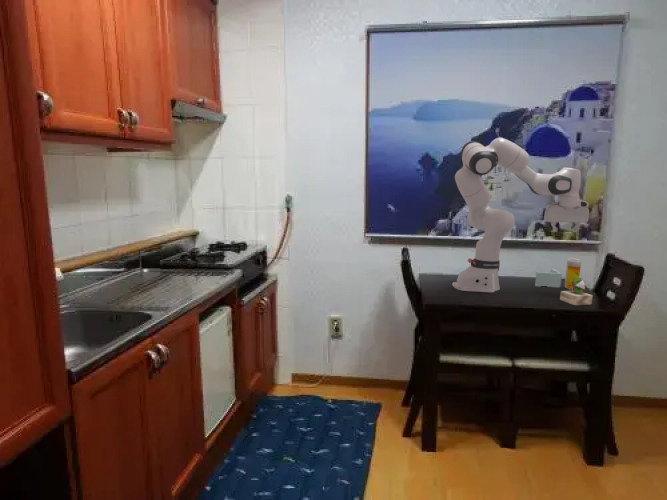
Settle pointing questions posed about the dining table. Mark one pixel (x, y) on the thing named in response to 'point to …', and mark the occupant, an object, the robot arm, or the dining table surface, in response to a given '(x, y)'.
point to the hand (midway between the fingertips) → (564, 231)
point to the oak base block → (576, 298)
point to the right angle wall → (548, 279)
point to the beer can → (572, 271)
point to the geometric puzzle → (578, 285)
